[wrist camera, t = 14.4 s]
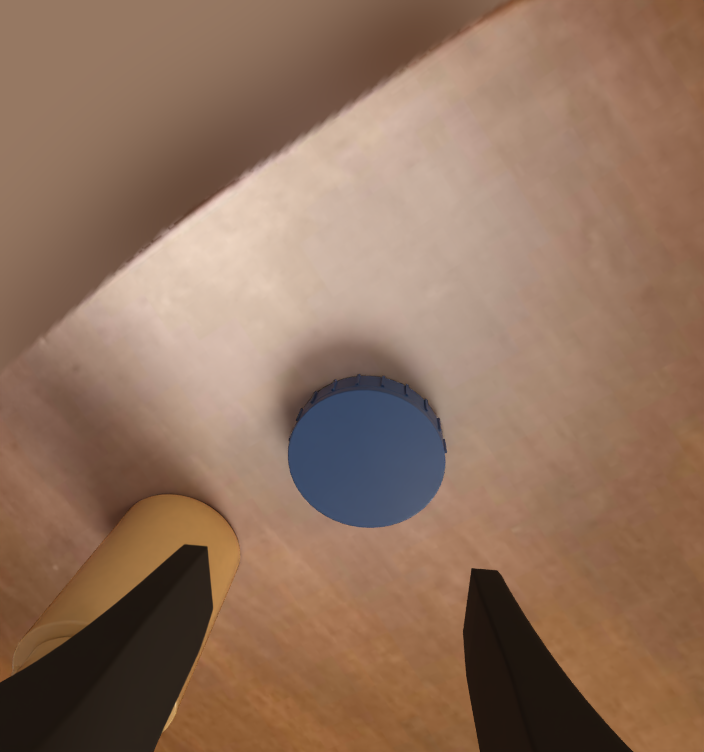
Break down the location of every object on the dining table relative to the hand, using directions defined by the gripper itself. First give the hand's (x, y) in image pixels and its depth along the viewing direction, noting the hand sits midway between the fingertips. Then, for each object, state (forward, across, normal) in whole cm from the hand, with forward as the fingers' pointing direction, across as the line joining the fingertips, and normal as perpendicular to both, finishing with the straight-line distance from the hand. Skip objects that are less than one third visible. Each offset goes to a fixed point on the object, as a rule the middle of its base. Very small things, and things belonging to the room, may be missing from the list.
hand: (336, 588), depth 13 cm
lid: (+7, 0, 0) cm, 7 cm away
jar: (+8, +8, +6) cm, 13 cm away
